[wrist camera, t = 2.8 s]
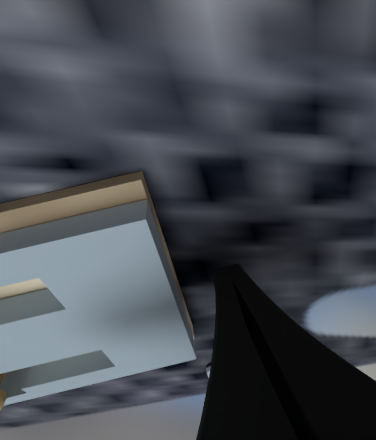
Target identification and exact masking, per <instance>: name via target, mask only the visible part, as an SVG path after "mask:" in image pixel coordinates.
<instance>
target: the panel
mask: <svg viewBox="0 0 376 440" xmlns="http://www.w3.org/2000/svg"><path fill="white" fill-rule="evenodd" d="M36 278H39V279H40V280H41V281H42V282H43V283H44V284H45V285H46V287H47V288H48V289H44V290H40V291H35V292H31V293H27V294H23V295H18V296H14V297H10V298H6V299H2V300H0V374H2V373H6V372H7V373H6V374H5V376H4V378H3V380H2V382H1V384H0V389H2V390H3V391H5V392H6V393H7V399H6V401H5V403H4V405H8V404H12V403H16V402H20V401H24V400H29V399H33V398H37V397H41V396H45V395H49V394H53V393H58V392H62V391H66V390H70V389H74V388H78V387H82V386H86V385H91V384H95V383H99V382H103V381H107V380H111V379H115V378H120V377H124V376H128V375H132V374H136V373H140V372H144V371H149V370H153V369H157V368H161V367H165V366H169V365H173V364H177V363H182V362H186V361H190V360H194V359H197V358H196V352H195V345H194V339H193V334H192V331H191V328H190V325H189V322H188V319H187V316H186V313H185V310H184V307H183V304H182V301H181V298H180V295H179V292H178V289H177V286H176V283H175V280H174V277H173V274H172V271H171V268H170V265H169V263H168V260H167V257H166V254H165V251H164V248H163V245H162V242H161V239H160V236H159V233H158V230H157V227H156V224H155V221H154V218H153V215H152V212H151V209H150V206H149V203H148V200H147V199H146V200H142V201H138V202H133V203H129V204H125V205H120V206H116V207H112V208H108V209H103V210H99V211H95V212H91V213H86V214H82V215H78V216H73V217H69V218H65V219H61V220H56V221H52V222H48V223H44V224H39V225H35V226H31V227H27V228H22V229H18V230H14V231H9V232H5V233H1V234H0V287H3V286H7V285H11V284H15V283H19V282H24V281H28V280H32V279H36ZM4 405H3V406H4Z"/></svg>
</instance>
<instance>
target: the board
mask: <svg viewBox="0 0 376 440" xmlns="http://www.w3.org/2000/svg"><path fill="white" fill-rule="evenodd" d="M146 199H147V200H148V203H149V206H150V209H151V212H152V215H153V218H154V221H155V224H156V227H157V230H158V233H159V236H160V239H161V242H162V245H163V248H164V251H165V254H166V257H167V260H168V263H169V265H170V268H171V271H172V274H173V277H174V280H175V283H176V286H177V289H178V292H179V295H180V298H181V301H182V304H183V307H184V310H185V313H186V316H187V319H188V322H189V325H190V328H191V331H192V334H193V339H195V338H194V332H193V326H192V322H191V319H190V316H189V313H188V310H187V307H186V304H185V301H184V298H183V295H182V292H181V289H180V286H179V282H178V279H177V276H176V273H175V270H174V267H173V264H172V261H171V258H170V255H169V252H168V249H167V245H166V242H165V239H164V236H163V233H162V230H161V227H160V224H159V221H158V218H157V215H156V212H155V208H154V205H153V202H152V199H151V196H150V193H149V190H148V187H147V184H146V181H145V178H144V175H143V172H142V171H139V172H135V173H131V174H126V175H122V176H118V177H113V178H109V179H105V180H101V181H96V182H92V183H88V184H83V185H79V186H75V187H71V188H66V189H62V190H58V191H53V192H49V193H45V194H40V195H36V196H32V197H28V198H23V199H19V200H15V201H10V202H6V203H2V204H0V234H1V233H5V232H9V231H14V230H18V229H22V228H27V227H31V226H35V225H39V224H44V223H48V222H52V221H56V220H61V219H65V218H69V217H73V216H78V215H82V214H86V213H91V212H95V211H99V210H103V209H108V208H112V207H116V206H120V205H125V204H129V203H133V202H138V201H142V200H146ZM44 289H48V288H47V287H46V285H45V284H44V283H43V282H42V281H41V280H40V279H39V278H36V279H32V280H28V281H24V282H19V283H15V284H11V285H7V286H3V287H0V300H2V299H6V298H10V297H14V296H18V295H23V294H27V293H31V292H35V291H40V290H44ZM6 373H7V372H6ZM6 373H2V374H0V384H1V382H2V380H3V378H4V376H5V374H6ZM6 399H7V393H6V392H5V391H3V390H2V389H0V411H1V409H2V407H3V405H4V403H5V401H6Z"/></svg>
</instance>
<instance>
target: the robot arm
mask: <svg viewBox="0 0 376 440" xmlns="http://www.w3.org/2000/svg"><path fill="white" fill-rule="evenodd" d="M212 274H213V280H214V286H215V293H216V318H215V335H214V345H213V354H212V361H211V366H209V367H207V369H206V370H207V375H208V378H209V381H208V386H207V392H206V397H205V402H204V407H203V412H202V417H201V422H200V426H199V430H198V435H197V439H196V440H376V381H375V380H373V379H372V378H370V377H369V376H367V375H366V374H364V373H363V372H361V371H360V370H359V369H357V368H356V367H354V366H353V365H351V364H350V363H348V362H347V361H345V360H344V359H343V358H341V357H340V356H339V355H337V354H336V353H334V352H333V351H332V350H330V349H329V348H327V347H326V346H325V345H323V344H322V343H321V342H319V341H318V340H317V339H315V338H314V337H313V336H312V335H310V334H309V333H308V332H307V331H305V330H304V329H303V328H302V327H301V326H299V325H298V324H297V323H296V322H295V321H293V320H292V319H291V318H290V317H289V316H288V315H287V314H285V313H284V312H283V311H282V310H281V309H280V308H279V307H278V306H277V305H276V304H275V303H274V302H273V301H272V300H271V299H270V298H269V297H268V296H267V295H266V294H265V293H264V292H263V291H262V290H261V289H260V288H259V287H258V286H257V285H256V284H255V283H254V282H253V280H252V279H251V278H250V277H249V276H248V275H247V273H246V272H245V271H244V270H243V268H242V267H241V266H240V265H239V264H234V265H230V266H226V267H221V268H217V269H214V270H213V271H212Z"/></svg>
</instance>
